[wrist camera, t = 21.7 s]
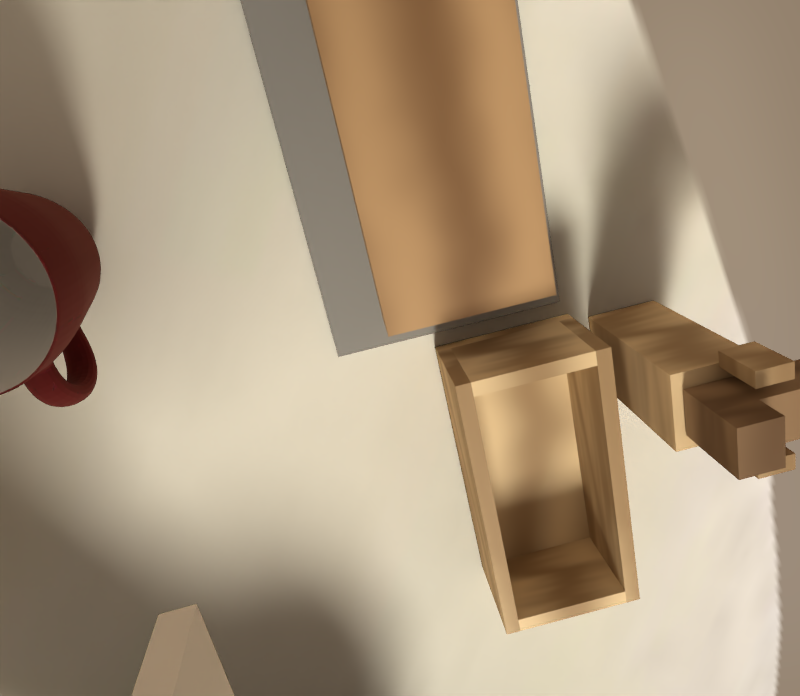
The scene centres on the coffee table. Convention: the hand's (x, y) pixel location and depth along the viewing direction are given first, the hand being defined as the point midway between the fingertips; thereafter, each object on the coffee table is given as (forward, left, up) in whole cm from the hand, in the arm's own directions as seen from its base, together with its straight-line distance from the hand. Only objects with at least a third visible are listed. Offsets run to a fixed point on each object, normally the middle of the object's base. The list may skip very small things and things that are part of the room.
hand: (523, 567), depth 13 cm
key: (+17, -6, -14) cm, 23 cm away
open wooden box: (+8, -12, -24) cm, 28 cm away
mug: (-17, +5, -24) cm, 30 cm away
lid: (+3, +7, -24) cm, 25 cm away
